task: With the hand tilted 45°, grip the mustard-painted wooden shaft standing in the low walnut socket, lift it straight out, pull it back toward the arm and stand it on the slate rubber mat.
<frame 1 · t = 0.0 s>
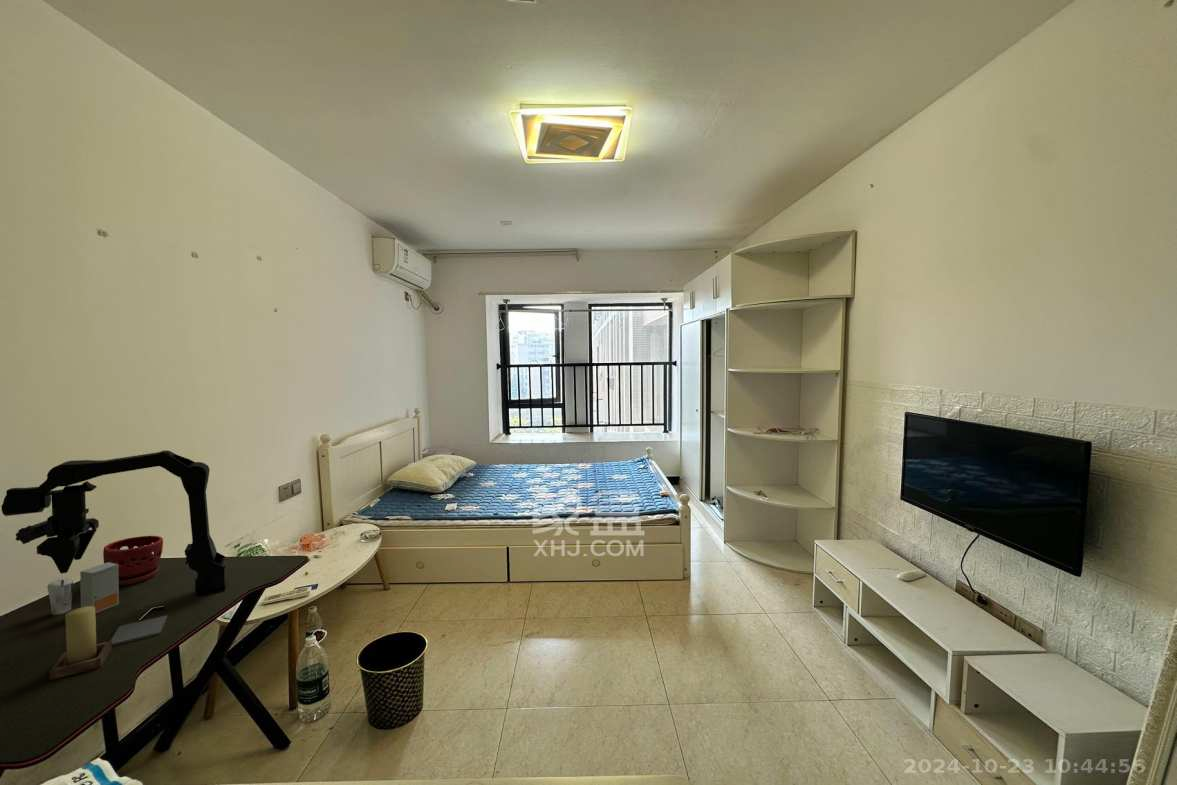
hand: (71, 566, 114), 15 cm above the table, tool pointing down, fingers open, 9 cm apart
walnut socket: (82, 663, 99), on the table
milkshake: (61, 613, 118), on the table
wooden shaft: (81, 637, 98), in the walnut socket
skincare box: (100, 609, 120), on the table
slate mat: (139, 631, 111), on the table
plant pot: (135, 578, 137), on the table
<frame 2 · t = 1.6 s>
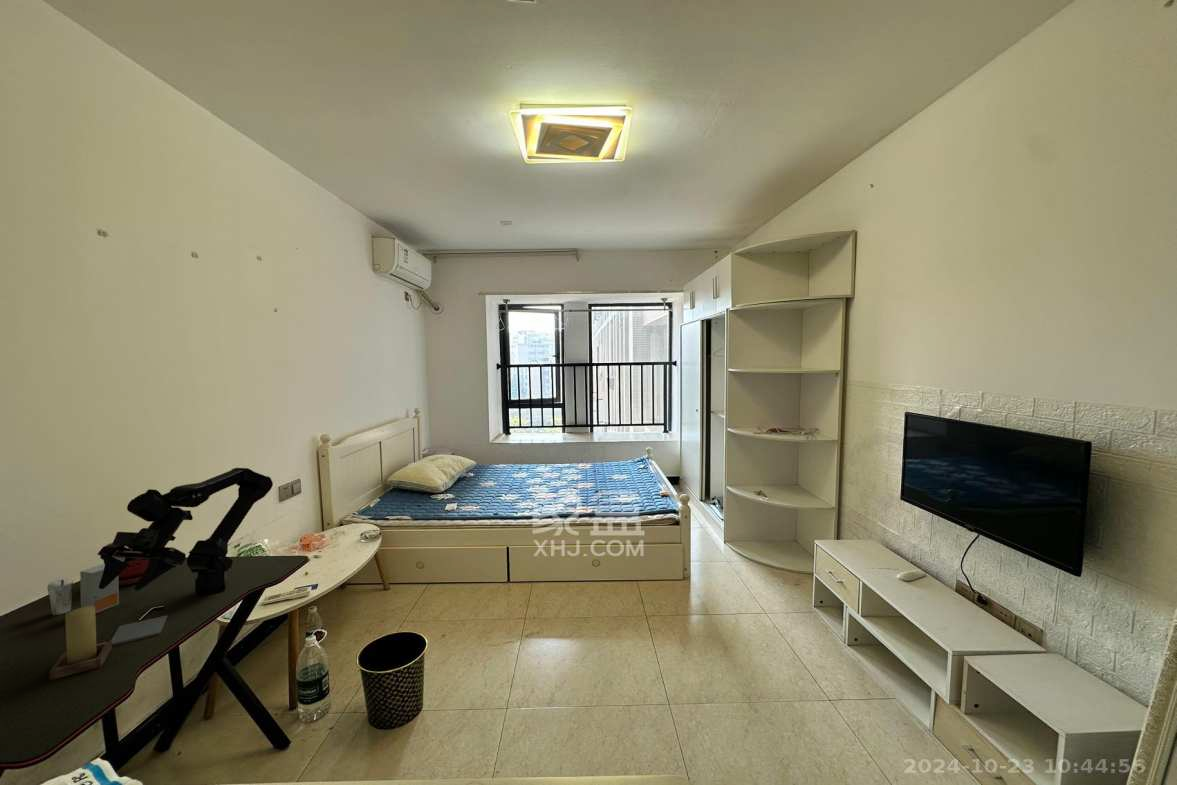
hand: (118, 589, 106), 13 cm above the table, tool tilted 45°, fingers open, 9 cm apart
nothing on the table moved.
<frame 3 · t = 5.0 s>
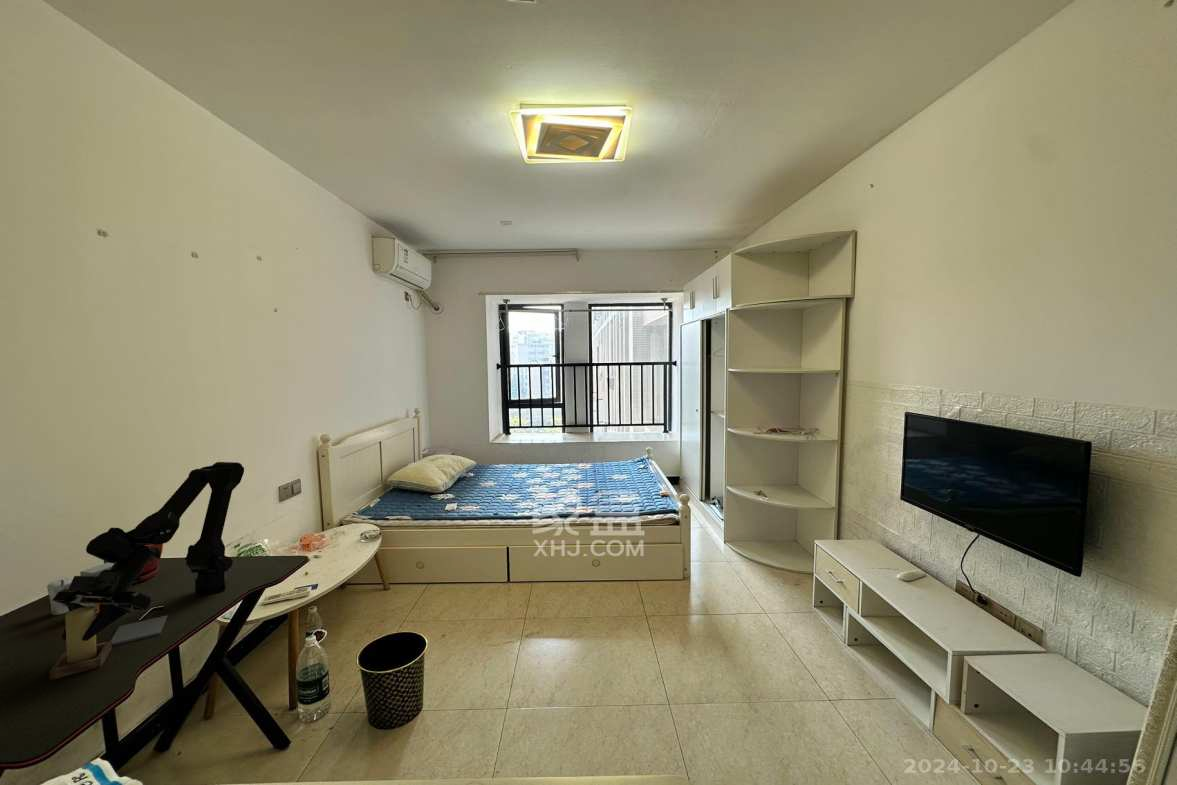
hand: (73, 640, 97), 7 cm above the table, tool tilted 45°, fingers closed on wooden shaft, 4 cm apart
wooden shaft: (81, 637, 98), in the walnut socket, touching gripper
everything else where it was.
when the fingers open (9 cm above the table, at t = 10.7 s): wooden shaft drops 2 cm, resting on slate mat.
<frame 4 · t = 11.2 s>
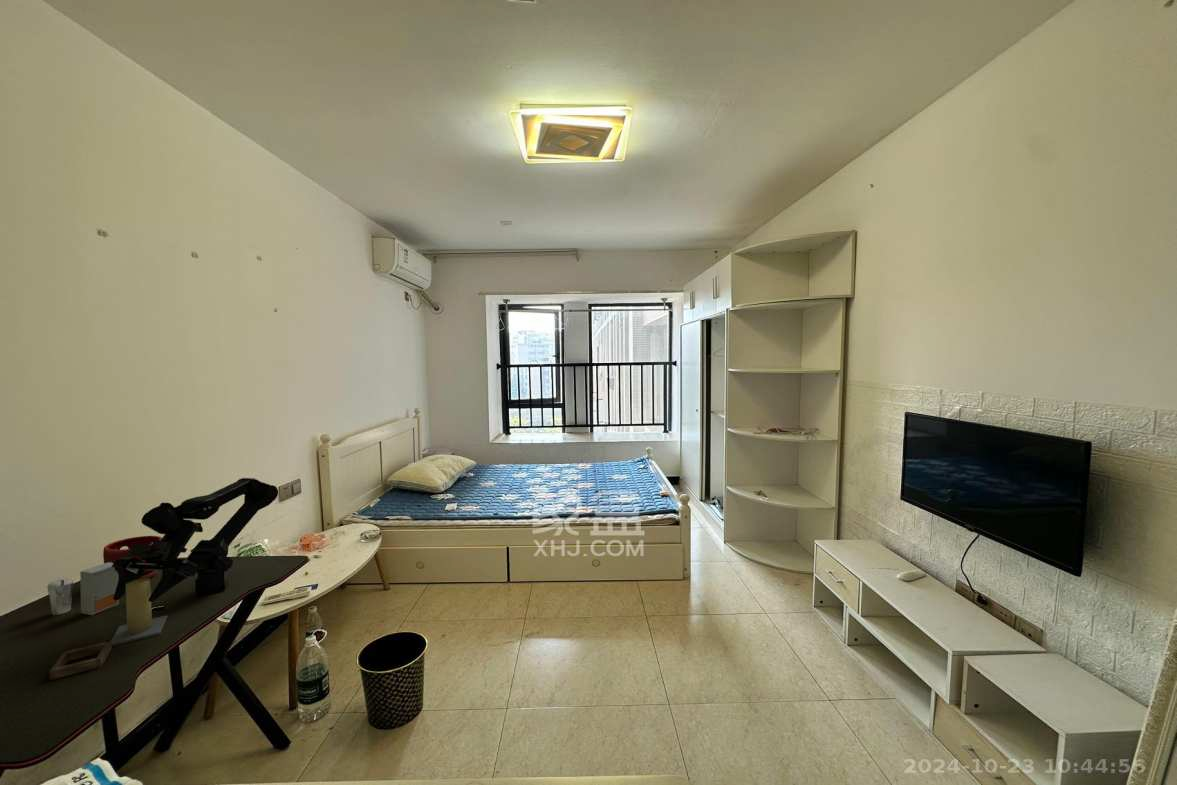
hand: (132, 600, 109), 9 cm above the table, tool tilted 45°, fingers open, 9 cm apart
wooden shaft: (138, 605, 110), on the slate mat, point 7 cm above the table
everything else where it was.
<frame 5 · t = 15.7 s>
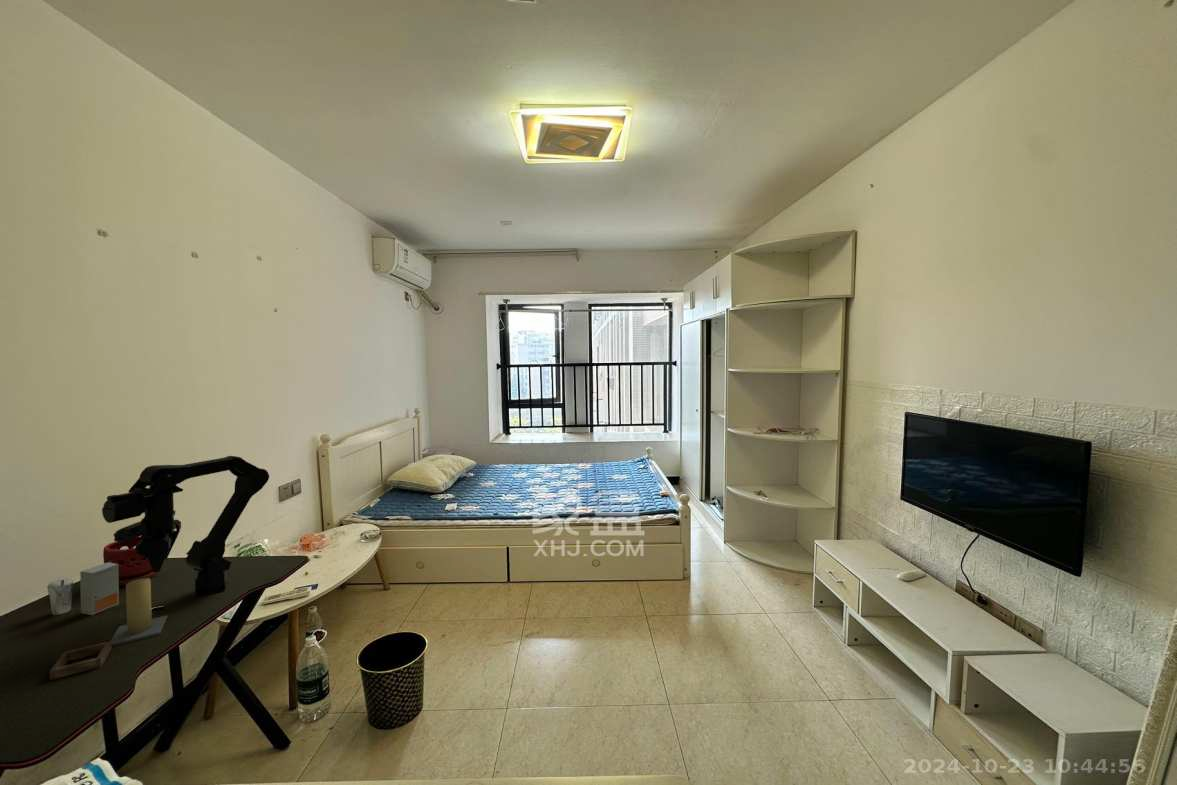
hand: (160, 565, 119), 13 cm above the table, tool pointing down, fingers open, 9 cm apart
nothing on the table moved.
at the end: wooden shaft inside the target area on the slate mat (0.1 cm from its centre), point 6.9 cm above the slate mat's base; wooden shaft tilted 0°; the gripper is holding nothing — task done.
